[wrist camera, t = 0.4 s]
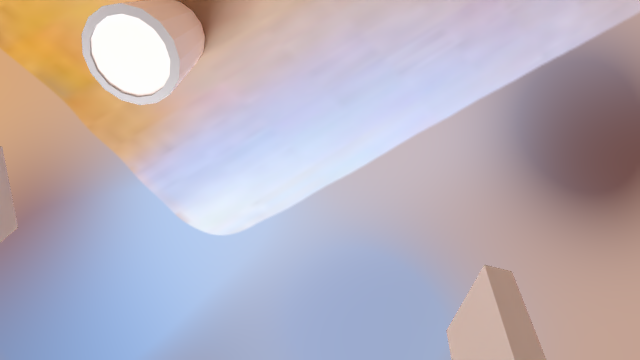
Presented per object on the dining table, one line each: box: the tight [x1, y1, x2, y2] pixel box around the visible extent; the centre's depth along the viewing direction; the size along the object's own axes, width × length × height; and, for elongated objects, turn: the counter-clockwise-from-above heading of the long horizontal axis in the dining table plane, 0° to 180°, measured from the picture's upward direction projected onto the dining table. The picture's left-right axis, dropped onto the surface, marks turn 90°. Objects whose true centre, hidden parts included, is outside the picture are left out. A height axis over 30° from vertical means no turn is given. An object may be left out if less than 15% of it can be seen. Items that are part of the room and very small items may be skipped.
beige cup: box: [82, 0, 205, 105], centre depth 32 cm, size 7×7×7 cm
